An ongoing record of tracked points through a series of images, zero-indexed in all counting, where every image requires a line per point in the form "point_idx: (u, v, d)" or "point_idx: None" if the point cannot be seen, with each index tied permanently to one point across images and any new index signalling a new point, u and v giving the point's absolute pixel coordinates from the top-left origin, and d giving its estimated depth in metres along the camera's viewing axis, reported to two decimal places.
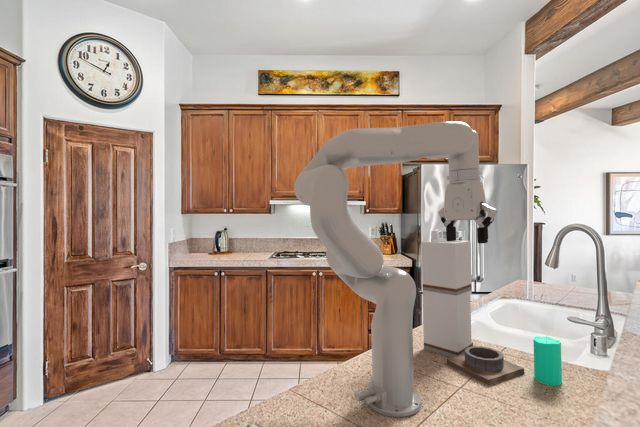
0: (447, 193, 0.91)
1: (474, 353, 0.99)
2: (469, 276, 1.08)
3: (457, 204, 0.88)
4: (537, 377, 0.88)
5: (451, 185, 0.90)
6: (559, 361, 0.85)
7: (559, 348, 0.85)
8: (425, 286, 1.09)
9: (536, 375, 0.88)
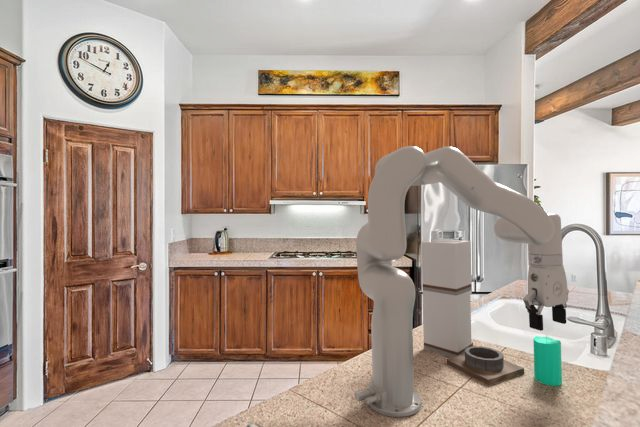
0: (548, 278, 0.84)
1: (474, 353, 0.99)
2: (469, 276, 1.08)
3: (557, 288, 0.85)
4: (537, 377, 0.88)
5: (551, 269, 0.85)
6: (559, 361, 0.85)
7: (559, 348, 0.85)
8: (425, 286, 1.09)
9: (536, 375, 0.88)
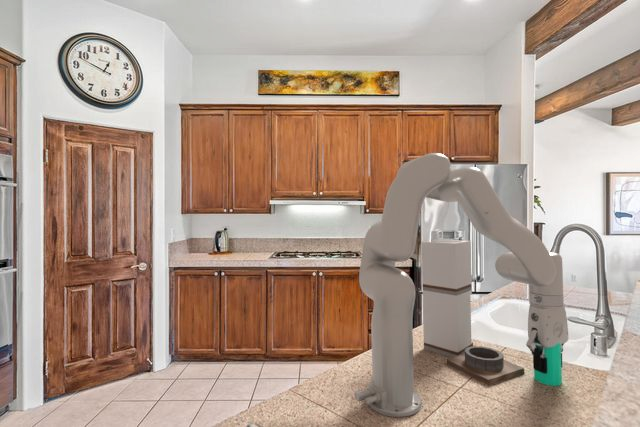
0: (548, 319, 0.84)
1: (474, 353, 0.99)
2: (469, 276, 1.08)
3: (557, 329, 0.85)
4: (537, 377, 0.88)
5: (551, 310, 0.85)
6: (559, 361, 0.85)
7: (559, 348, 0.85)
8: (425, 286, 1.09)
9: (536, 375, 0.88)
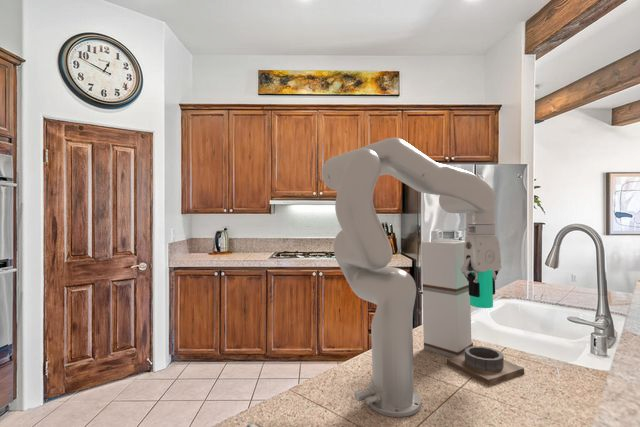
0: (480, 246, 0.91)
1: (474, 353, 0.99)
2: None
3: (489, 256, 0.92)
4: (471, 302, 0.95)
5: (483, 238, 0.92)
6: (490, 286, 0.92)
7: (490, 274, 0.93)
8: (425, 286, 1.09)
9: (470, 301, 0.95)
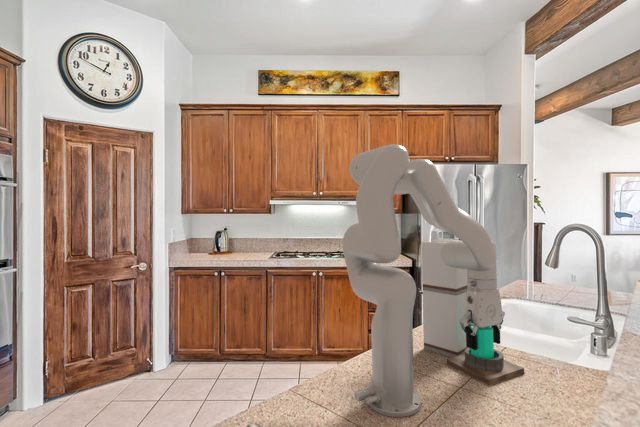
0: (481, 301, 0.91)
1: None
2: None
3: (491, 311, 0.92)
4: None
5: (485, 293, 0.92)
6: (490, 346, 0.92)
7: (491, 334, 0.92)
8: (425, 286, 1.09)
9: None
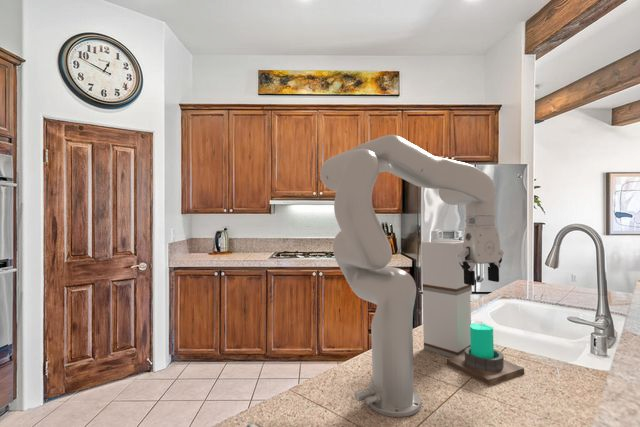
0: (480, 237, 0.91)
1: None
2: None
3: (489, 247, 0.92)
4: None
5: (483, 229, 0.92)
6: (490, 346, 0.92)
7: (491, 334, 0.92)
8: (425, 286, 1.09)
9: None
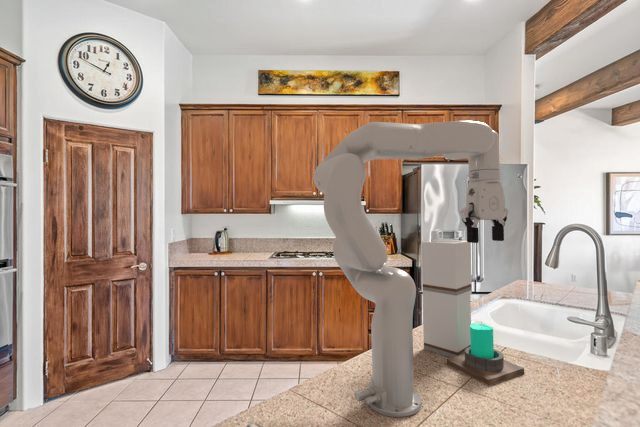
0: (484, 191, 0.87)
1: None
2: (469, 276, 1.08)
3: (493, 203, 0.88)
4: None
5: (487, 183, 0.87)
6: (490, 346, 0.92)
7: (491, 334, 0.92)
8: (425, 286, 1.09)
9: None
